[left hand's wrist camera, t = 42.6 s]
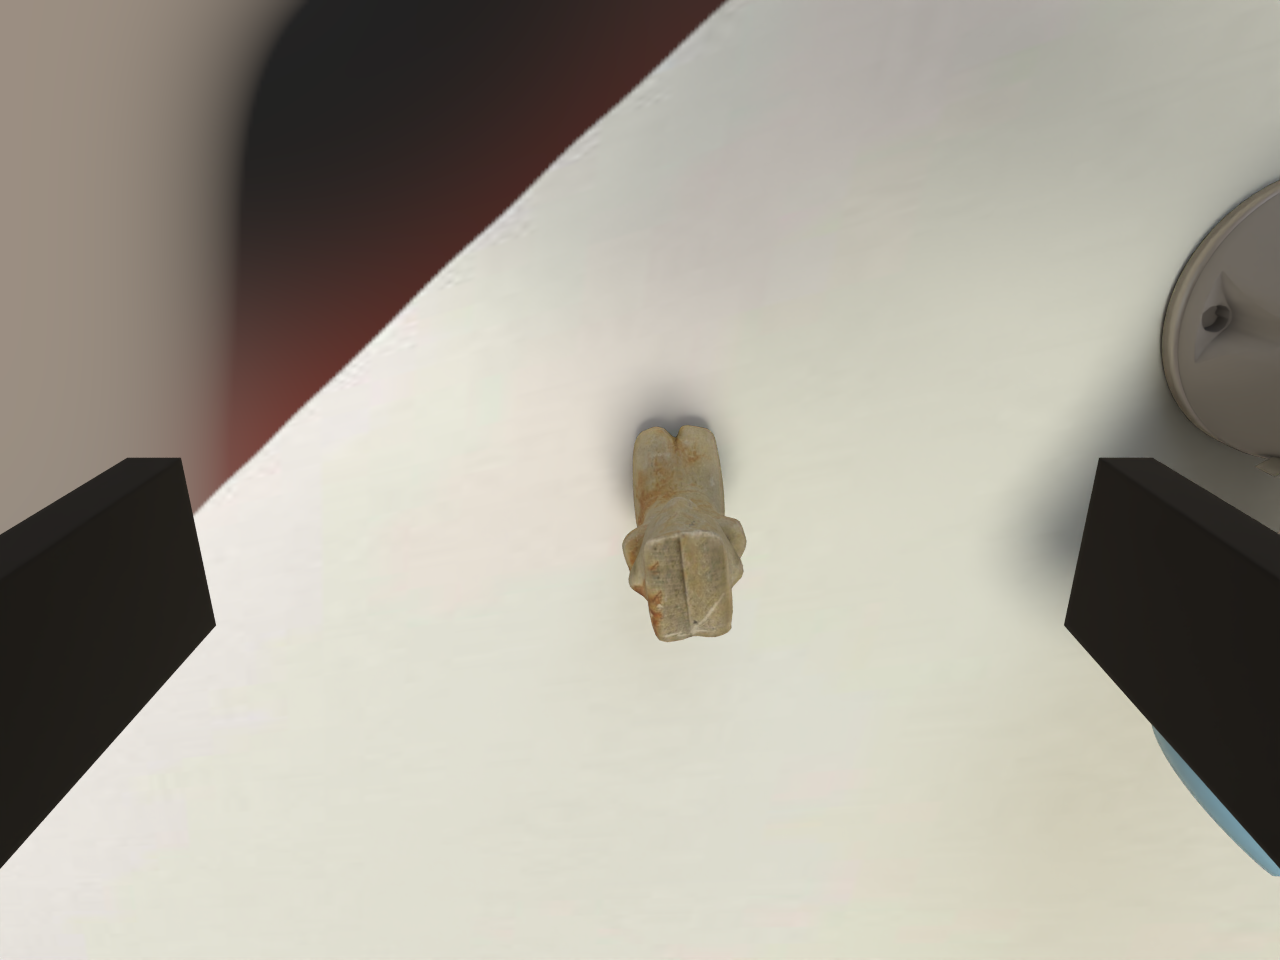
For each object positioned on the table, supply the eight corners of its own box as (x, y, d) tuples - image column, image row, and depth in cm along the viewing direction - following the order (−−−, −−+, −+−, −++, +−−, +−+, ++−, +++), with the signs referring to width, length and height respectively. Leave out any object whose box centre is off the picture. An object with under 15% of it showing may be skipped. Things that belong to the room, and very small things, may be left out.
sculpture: (728, 416, 47) (765, 530, 33) (727, 534, 50) (761, 685, 36) (623, 419, 47) (615, 534, 33) (628, 537, 50) (623, 689, 36)
